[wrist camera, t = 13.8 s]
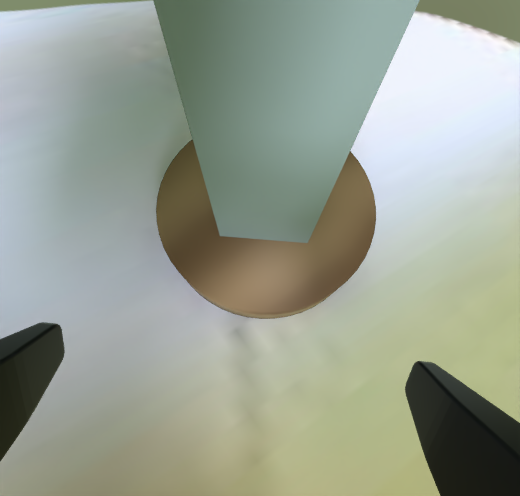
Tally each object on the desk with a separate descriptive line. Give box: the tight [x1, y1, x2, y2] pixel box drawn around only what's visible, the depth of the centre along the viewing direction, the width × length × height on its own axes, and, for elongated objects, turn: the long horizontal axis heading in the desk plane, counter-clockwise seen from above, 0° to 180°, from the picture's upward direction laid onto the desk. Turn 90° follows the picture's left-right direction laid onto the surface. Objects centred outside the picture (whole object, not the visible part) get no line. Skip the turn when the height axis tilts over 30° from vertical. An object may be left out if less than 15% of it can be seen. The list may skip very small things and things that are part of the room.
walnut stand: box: [156, 139, 376, 319], centre depth 20 cm, size 13×13×3 cm
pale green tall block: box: [153, 0, 419, 243], centre depth 12 cm, size 5×5×13 cm
